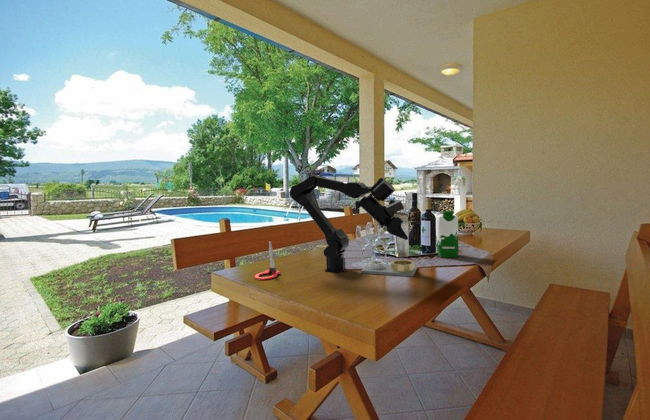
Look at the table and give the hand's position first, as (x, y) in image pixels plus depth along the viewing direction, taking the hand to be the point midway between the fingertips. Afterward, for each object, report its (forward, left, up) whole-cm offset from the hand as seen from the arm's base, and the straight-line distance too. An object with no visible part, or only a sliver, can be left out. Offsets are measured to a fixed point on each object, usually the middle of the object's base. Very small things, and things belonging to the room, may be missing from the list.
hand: (405, 237), depth 121 cm
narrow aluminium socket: (-11, -1, -13) cm, 17 cm away
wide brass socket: (-1, -1, -13) cm, 13 cm away
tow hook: (-49, -19, -13) cm, 54 cm away
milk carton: (+13, +30, -13) cm, 35 cm away
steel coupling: (-1, -1, -7) cm, 7 cm away
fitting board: (-6, -1, -13) cm, 14 cm away
